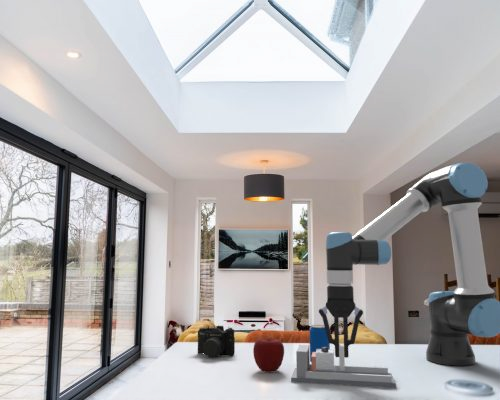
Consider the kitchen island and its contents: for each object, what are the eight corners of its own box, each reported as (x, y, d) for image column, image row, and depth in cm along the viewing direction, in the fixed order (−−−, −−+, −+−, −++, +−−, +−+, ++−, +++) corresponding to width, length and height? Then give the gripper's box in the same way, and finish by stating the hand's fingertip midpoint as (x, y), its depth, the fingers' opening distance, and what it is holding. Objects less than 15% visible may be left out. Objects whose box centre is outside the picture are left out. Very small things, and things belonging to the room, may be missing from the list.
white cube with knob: (334, 370, 128) (333, 346, 129) (334, 375, 122) (333, 349, 123) (316, 369, 129) (316, 345, 130) (316, 374, 123) (315, 349, 124)
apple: (274, 377, 127) (274, 341, 128) (247, 372, 132) (247, 338, 133) (289, 370, 135) (289, 336, 136) (263, 366, 140) (262, 333, 141)
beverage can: (329, 366, 139) (329, 327, 141) (309, 365, 141) (308, 327, 142) (330, 361, 146) (329, 324, 147) (310, 361, 147) (310, 324, 149)
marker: (317, 369, 129) (316, 352, 130) (315, 375, 123) (315, 356, 124) (312, 369, 129) (312, 351, 130) (311, 375, 123) (311, 356, 124)
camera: (188, 357, 152) (188, 328, 153) (201, 351, 162) (201, 323, 163) (225, 360, 147) (225, 330, 149) (236, 354, 157) (236, 325, 159)
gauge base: (391, 377, 127) (390, 348, 128) (396, 388, 116) (394, 356, 117) (295, 372, 132) (294, 344, 134) (291, 382, 122) (290, 351, 123)
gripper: (362, 284, 130) (364, 367, 127) (318, 284, 133) (319, 364, 130) (363, 286, 123) (366, 373, 120) (317, 285, 125) (318, 371, 122)
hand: (342, 369), depth 125 cm, fingers closed
